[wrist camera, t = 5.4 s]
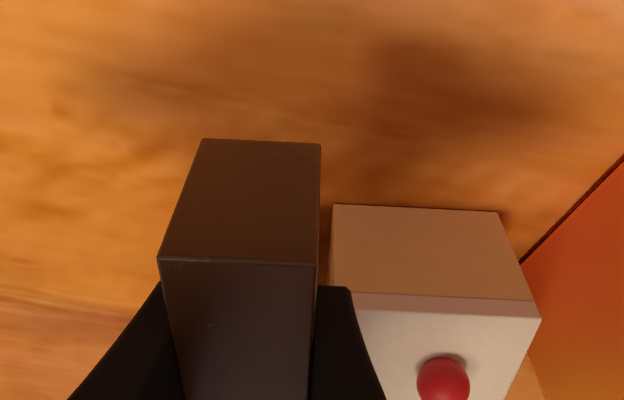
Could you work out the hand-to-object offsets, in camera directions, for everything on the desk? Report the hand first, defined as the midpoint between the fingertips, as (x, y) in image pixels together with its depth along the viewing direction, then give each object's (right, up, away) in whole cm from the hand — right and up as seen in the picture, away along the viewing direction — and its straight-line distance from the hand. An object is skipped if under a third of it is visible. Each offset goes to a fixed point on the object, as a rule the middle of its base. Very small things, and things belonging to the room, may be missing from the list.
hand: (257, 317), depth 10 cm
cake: (+5, -2, +12) cm, 13 cm away
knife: (0, -3, +4) cm, 5 cm away
